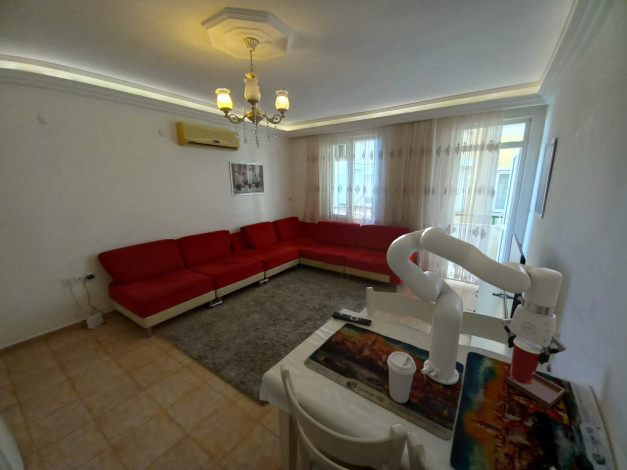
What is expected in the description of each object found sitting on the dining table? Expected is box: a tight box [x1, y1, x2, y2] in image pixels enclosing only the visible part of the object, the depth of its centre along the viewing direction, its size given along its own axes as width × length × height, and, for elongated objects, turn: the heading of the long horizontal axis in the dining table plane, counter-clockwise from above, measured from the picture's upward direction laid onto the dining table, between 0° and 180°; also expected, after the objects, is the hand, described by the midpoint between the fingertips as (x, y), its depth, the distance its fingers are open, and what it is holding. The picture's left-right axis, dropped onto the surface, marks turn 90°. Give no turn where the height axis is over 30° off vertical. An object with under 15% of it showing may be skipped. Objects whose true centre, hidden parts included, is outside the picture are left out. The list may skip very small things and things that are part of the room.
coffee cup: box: [386, 351, 417, 404], centre depth 84 cm, size 10×10×15 cm
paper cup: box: [509, 335, 544, 384], centre depth 79 cm, size 8×8×14 cm
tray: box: [506, 372, 566, 409], centre depth 88 cm, size 12×12×2 cm
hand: (526, 354), depth 79 cm, fingers closed on paper cup, 7 cm apart
